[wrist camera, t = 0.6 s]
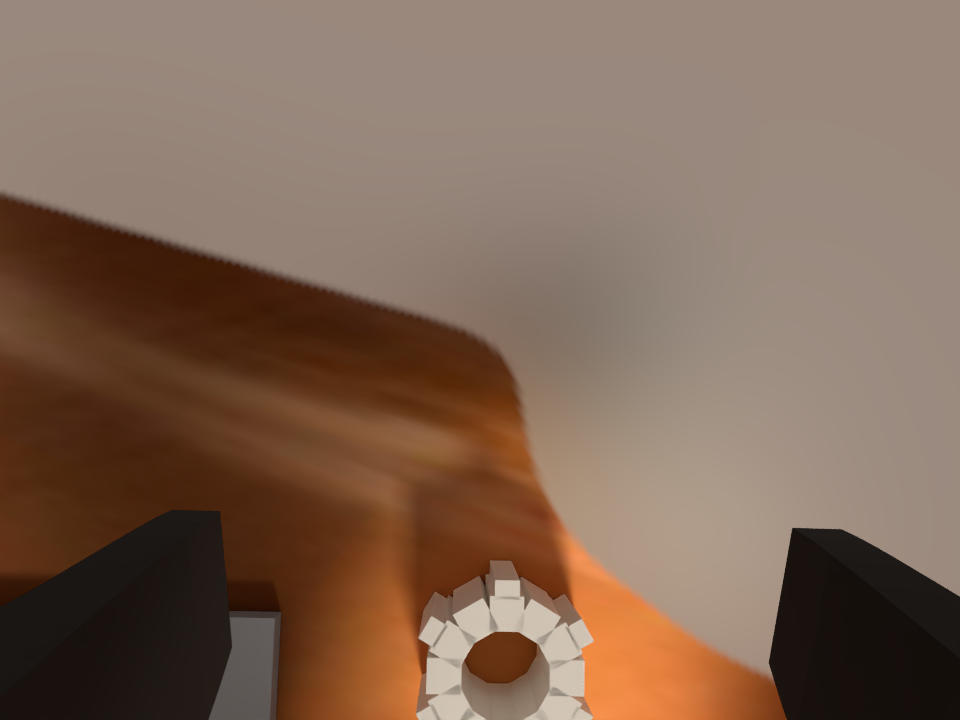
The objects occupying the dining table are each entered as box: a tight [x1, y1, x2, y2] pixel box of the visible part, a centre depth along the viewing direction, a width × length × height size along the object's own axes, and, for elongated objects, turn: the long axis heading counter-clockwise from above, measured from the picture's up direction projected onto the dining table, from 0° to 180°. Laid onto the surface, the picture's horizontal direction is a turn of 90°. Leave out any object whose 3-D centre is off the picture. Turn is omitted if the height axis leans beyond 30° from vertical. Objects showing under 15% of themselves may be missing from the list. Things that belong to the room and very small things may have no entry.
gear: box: [416, 560, 594, 720], centre depth 27 cm, size 6×6×4 cm
